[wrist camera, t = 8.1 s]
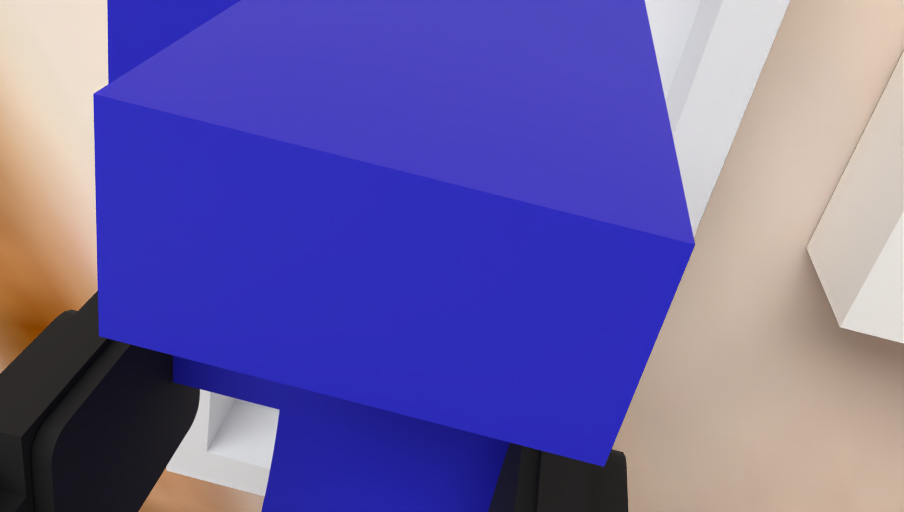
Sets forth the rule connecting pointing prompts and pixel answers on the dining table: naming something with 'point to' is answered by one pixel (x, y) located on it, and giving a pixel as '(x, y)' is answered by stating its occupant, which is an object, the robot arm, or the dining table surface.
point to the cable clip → (392, 228)
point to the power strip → (868, 226)
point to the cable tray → (700, 161)
